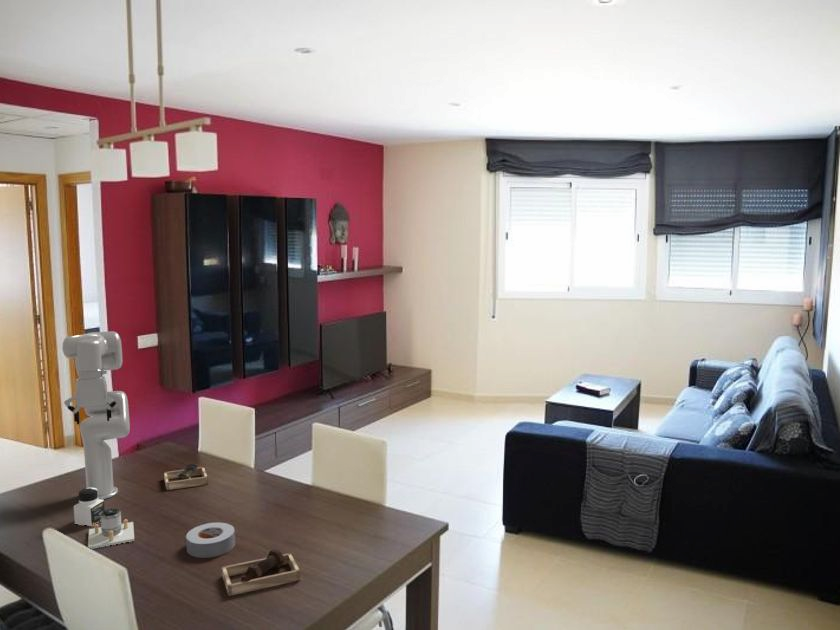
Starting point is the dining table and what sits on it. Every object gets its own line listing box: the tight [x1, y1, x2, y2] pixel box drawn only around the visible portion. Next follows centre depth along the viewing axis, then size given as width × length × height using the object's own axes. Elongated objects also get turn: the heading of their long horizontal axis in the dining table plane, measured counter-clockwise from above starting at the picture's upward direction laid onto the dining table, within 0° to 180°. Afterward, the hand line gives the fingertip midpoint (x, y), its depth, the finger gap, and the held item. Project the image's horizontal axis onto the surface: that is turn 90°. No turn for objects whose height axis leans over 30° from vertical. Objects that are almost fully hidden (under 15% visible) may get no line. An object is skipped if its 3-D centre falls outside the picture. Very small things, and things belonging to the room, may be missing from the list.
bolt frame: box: [221, 552, 301, 597], centre depth 198 cm, size 12×21×3 cm, turn 115°
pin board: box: [87, 518, 135, 550], centre depth 224 cm, size 14×14×4 cm
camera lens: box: [100, 508, 122, 537], centre depth 224 cm, size 6×6×8 cm
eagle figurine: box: [175, 463, 198, 480], centre depth 274 cm, size 8×7×9 cm
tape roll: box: [185, 522, 236, 559], centre depth 218 cm, size 15×15×5 cm
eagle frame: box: [163, 466, 209, 491], centre depth 273 cm, size 13×16×3 cm
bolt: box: [239, 548, 284, 582], centre depth 198 cm, size 6×5×15 cm
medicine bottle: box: [73, 487, 106, 527], centre depth 235 cm, size 7×7×12 cm
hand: (93, 421), depth 233 cm, fingers open, 9 cm apart
